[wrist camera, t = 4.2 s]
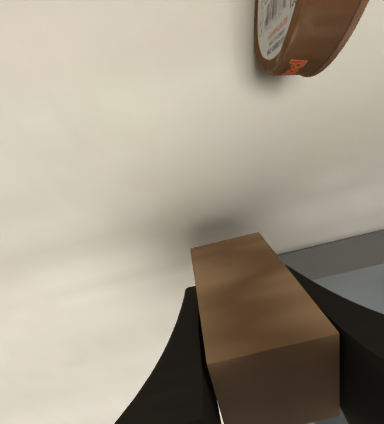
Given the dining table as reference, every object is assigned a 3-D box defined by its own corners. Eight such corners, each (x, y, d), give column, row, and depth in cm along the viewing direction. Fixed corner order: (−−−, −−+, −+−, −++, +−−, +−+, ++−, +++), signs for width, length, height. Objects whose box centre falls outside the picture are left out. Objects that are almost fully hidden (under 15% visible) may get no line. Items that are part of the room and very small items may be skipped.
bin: (412, 222, 21) (464, 244, 17) (394, 373, 28) (428, 411, 24) (270, 256, 21) (292, 285, 17) (288, 398, 28) (305, 440, 24)
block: (258, 232, 13) (339, 333, 7) (266, 288, 15) (339, 416, 8) (190, 248, 14) (206, 364, 7) (204, 302, 15) (229, 441, 8)
